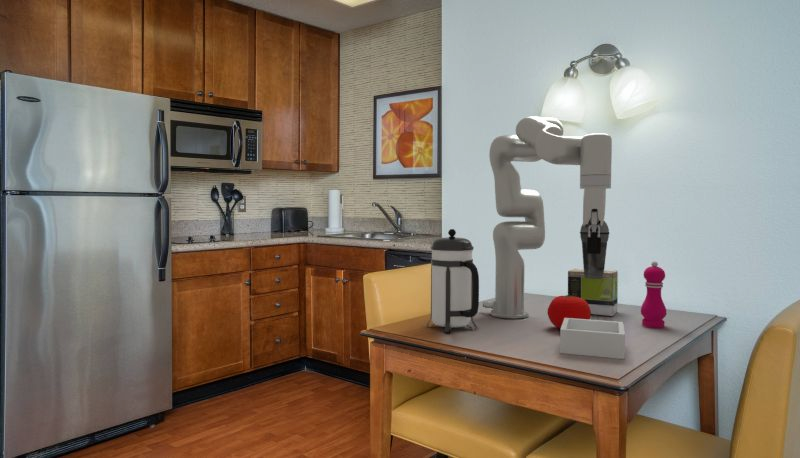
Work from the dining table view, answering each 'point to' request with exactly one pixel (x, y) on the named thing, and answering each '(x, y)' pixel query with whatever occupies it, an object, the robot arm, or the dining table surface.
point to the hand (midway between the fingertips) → (594, 251)
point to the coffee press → (453, 283)
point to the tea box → (595, 290)
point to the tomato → (567, 309)
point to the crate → (592, 338)
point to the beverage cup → (594, 261)
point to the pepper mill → (653, 298)
